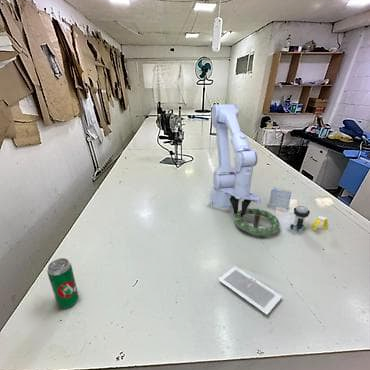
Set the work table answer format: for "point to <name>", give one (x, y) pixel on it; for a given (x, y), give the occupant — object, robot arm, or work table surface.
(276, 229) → the ring
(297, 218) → the push button
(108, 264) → the work table surface
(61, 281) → the soda can
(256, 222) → the peg
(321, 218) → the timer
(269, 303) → the touchpad
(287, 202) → the medicine box
